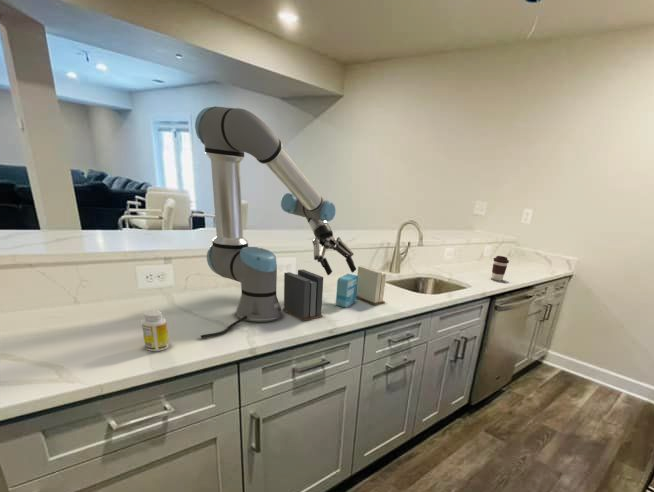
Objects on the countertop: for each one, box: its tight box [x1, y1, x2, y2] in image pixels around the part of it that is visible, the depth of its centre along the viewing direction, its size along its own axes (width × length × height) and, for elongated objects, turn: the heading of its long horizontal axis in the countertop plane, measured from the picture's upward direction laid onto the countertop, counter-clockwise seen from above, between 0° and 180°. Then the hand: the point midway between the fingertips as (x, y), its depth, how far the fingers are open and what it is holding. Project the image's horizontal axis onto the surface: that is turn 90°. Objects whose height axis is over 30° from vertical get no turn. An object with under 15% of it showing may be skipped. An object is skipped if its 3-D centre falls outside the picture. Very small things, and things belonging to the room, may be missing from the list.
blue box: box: [335, 273, 358, 309], centre depth 161 cm, size 12×4×12 cm, turn 165°
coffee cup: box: [491, 255, 510, 282], centre depth 251 cm, size 10×10×15 cm
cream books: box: [356, 265, 387, 306], centre depth 170 cm, size 7×13×14 cm, turn 51°
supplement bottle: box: [141, 310, 170, 352], centre depth 104 cm, size 6×6×10 cm
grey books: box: [282, 268, 324, 322], centre depth 143 cm, size 8×13×15 cm, turn 51°
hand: (342, 272), depth 161 cm, fingers open, 13 cm apart
